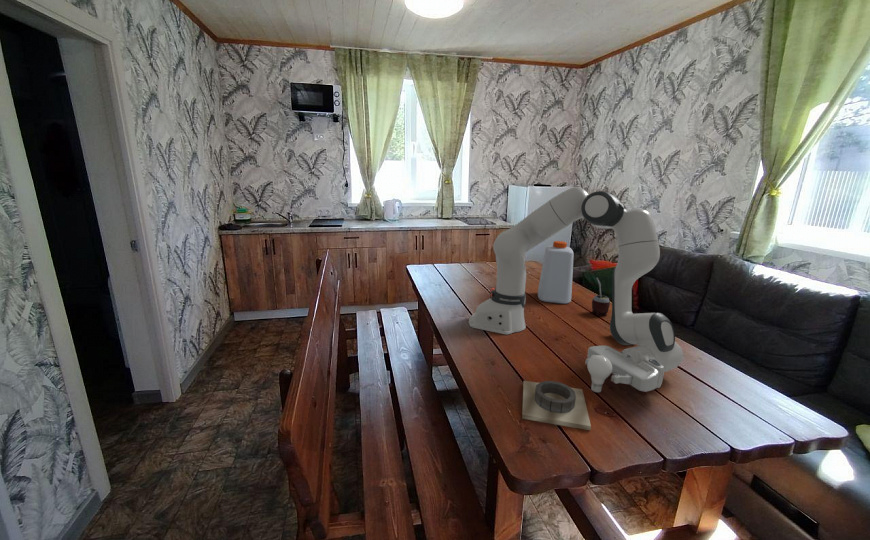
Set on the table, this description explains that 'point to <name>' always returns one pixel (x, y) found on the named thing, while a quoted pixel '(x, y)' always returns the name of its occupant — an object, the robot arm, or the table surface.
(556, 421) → the jig
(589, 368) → the lightbulb
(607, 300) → the mate gourd
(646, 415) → the table surface
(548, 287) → the plastic bottle
